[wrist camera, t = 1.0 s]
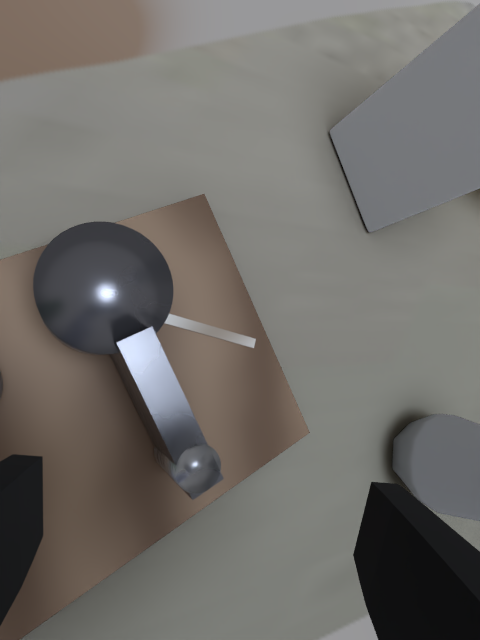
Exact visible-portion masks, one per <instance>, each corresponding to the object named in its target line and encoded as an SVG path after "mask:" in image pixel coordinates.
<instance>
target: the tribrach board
mask: <svg viewBox="0 0 480 640" xmlns="http://www.w3.org/2000/svg"><path fill="white" fill-rule="evenodd" d="M116 224H120V225H124V226H126V227H129V228H132V229H133V230H135V231H137V232H139V233H141V234H142V235H144V236H145V237H146V238H148V239H149V240H150V241H151V242H152V243H153V244H154V245H155V246H156V247H157V248H158V249H159V251H160V252H161V253H162V255H163V256H164V258H165V260H166V262H167V264H168V266H169V269H170V271H171V275H172V279H173V302H172V306H171V310H170V313H169V315H168V317H167V319H166V321H165V323H164V324H163V326H162V327H161V328H160V330H159V331H158V332H157V333H156V336H157V338H158V340H159V342H160V344H161V346H162V348H163V351H164V353H165V355H166V357H167V359H168V361H169V363H170V365H171V368H172V370H173V372H174V374H175V376H176V378H177V380H178V382H179V384H180V387H181V389H182V391H183V393H184V395H185V397H186V399H187V401H188V404H189V406H190V408H191V410H192V412H193V414H194V416H195V418H196V420H197V423H198V425H199V427H200V429H201V431H202V433H203V435H204V437H205V440H206V442H207V444H208V445H209V446H210V447H212V448H213V449H214V450H215V451H216V452H217V453H218V455H219V457H220V461H221V473H222V476H223V478H224V479H223V480H221V481H220V482H219V483H217V484H216V485H214V486H213V487H211V488H210V489H208V490H207V491H206V492H204V493H203V494H201V495H200V496H198V497H197V498H195V499H194V500H192V499H191V498H190V497H189V496H188V495H187V494H186V493H185V492H184V491H183V490H182V489H181V488H180V487H179V485H178V484H177V483H176V482H175V481H174V480H173V479H172V478H171V477H170V476H169V475H168V473H167V472H166V471H165V470H164V469H163V468H162V467H161V466H160V465H159V464H158V463H157V461H156V459H155V456H154V445H153V443H152V440H151V438H150V436H149V434H148V432H147V430H146V428H145V426H144V424H143V422H142V420H141V418H140V416H139V414H138V412H137V410H136V408H135V406H134V404H133V402H132V399H131V397H130V395H129V393H128V391H127V389H126V387H125V385H124V383H123V381H122V379H121V377H120V375H119V373H118V371H117V369H116V367H115V365H114V363H113V360H112V358H111V356H110V354H106V355H92V354H85V353H82V352H78V351H76V350H73V349H71V348H69V347H67V346H65V345H64V344H62V343H61V342H60V341H58V340H57V339H56V338H55V337H54V336H53V335H52V334H51V333H50V332H49V330H48V329H47V328H46V326H45V324H44V323H43V321H42V318H41V316H40V313H39V311H38V308H37V306H36V302H35V298H34V291H33V277H34V272H35V268H36V265H37V262H38V260H39V258H40V256H41V254H42V252H43V251H44V249H45V248H46V247H47V245H45V246H41V247H38V248H35V249H32V250H29V251H26V252H23V253H20V254H17V255H14V256H11V257H7V258H4V259H1V260H0V461H2V460H4V459H5V458H7V457H9V456H11V455H12V454H17V455H30V456H43V538H42V540H41V543H40V545H39V547H38V550H37V552H36V555H35V557H34V560H33V562H32V564H31V567H30V569H29V571H28V573H27V576H26V578H25V580H24V583H23V585H22V587H21V589H20V591H19V593H18V595H17V596H16V598H15V600H14V602H13V604H12V606H11V607H10V609H9V611H8V613H7V615H6V617H5V618H4V620H3V622H2V624H1V626H0V640H19V639H21V638H22V637H24V636H25V635H27V634H28V633H29V632H31V631H32V630H34V629H35V628H36V627H38V626H39V625H41V624H42V623H43V622H45V621H46V620H48V619H49V618H50V617H52V616H53V615H55V614H56V613H57V612H59V611H60V610H62V609H63V608H64V607H66V606H67V605H69V604H70V603H71V602H73V601H74V600H76V599H77V598H78V597H80V596H81V595H83V594H84V593H85V592H87V591H88V590H90V589H91V588H92V587H94V586H95V585H97V584H98V583H99V582H101V581H102V580H104V579H105V578H106V577H108V576H109V575H111V574H112V573H113V572H115V571H116V570H118V569H119V568H120V567H122V566H123V565H125V564H126V563H127V562H129V561H130V560H132V559H133V558H134V557H136V556H137V555H139V554H140V553H141V552H143V551H144V550H146V549H147V548H149V547H150V546H151V545H153V544H154V543H156V542H157V541H158V540H160V539H161V538H163V537H164V536H165V535H167V534H168V533H170V532H171V531H172V530H174V529H175V528H177V527H178V526H179V525H181V524H182V523H184V522H185V521H186V520H188V519H189V518H191V517H192V516H193V515H195V514H196V513H198V512H199V511H200V510H202V509H203V508H205V507H206V506H207V505H209V504H210V503H212V502H213V501H214V500H216V499H217V498H219V497H220V496H221V495H223V494H224V493H226V492H227V491H228V490H230V489H231V488H233V487H234V486H235V485H237V484H238V483H240V482H241V481H242V480H244V479H245V478H247V477H248V476H249V475H251V474H252V473H254V472H255V471H256V470H258V469H259V468H261V467H262V466H263V465H265V464H266V463H268V462H269V461H270V460H272V459H273V458H275V457H276V456H278V455H279V454H280V453H282V452H283V451H285V450H286V449H287V448H289V447H290V446H292V445H293V444H294V443H296V442H297V441H299V440H300V439H301V438H303V437H304V436H306V435H307V434H308V433H310V432H309V430H308V428H307V425H306V423H305V421H304V418H303V416H302V414H301V412H300V409H299V407H298V405H297V403H296V400H295V398H294V396H293V394H292V391H291V389H290V387H289V385H288V382H287V380H286V378H285V376H284V373H283V371H282V369H281V366H280V364H279V362H278V360H277V357H276V355H275V353H274V351H273V348H272V346H271V344H270V342H269V339H268V337H267V335H266V333H265V330H264V328H263V326H262V323H261V321H260V319H259V317H258V314H257V312H256V310H255V308H254V305H253V303H252V301H251V299H250V296H249V294H248V292H247V290H246V287H245V285H244V283H243V280H242V278H241V276H240V274H239V271H238V269H237V267H236V265H235V262H234V260H233V258H232V256H231V253H230V251H229V249H228V247H227V244H226V242H225V240H224V238H223V235H222V233H221V231H220V228H219V226H218V224H217V222H216V219H215V217H214V215H213V213H212V210H211V208H210V206H209V204H208V201H207V199H206V197H205V195H204V194H202V195H199V196H196V197H193V198H190V199H187V200H184V201H181V202H177V203H174V204H171V205H168V206H165V207H162V208H159V209H156V210H153V211H150V212H147V213H143V214H140V215H137V216H134V217H131V218H128V219H125V220H122V221H119V222H116Z"/></svg>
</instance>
